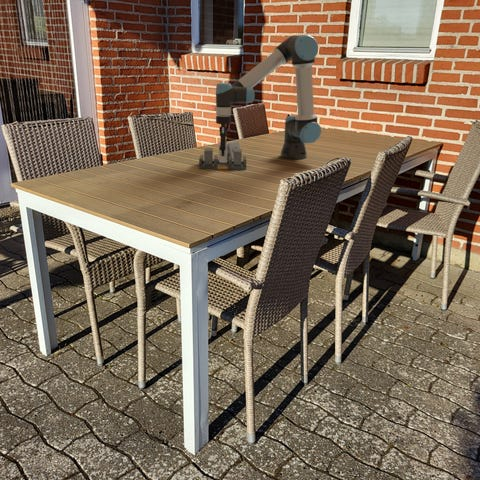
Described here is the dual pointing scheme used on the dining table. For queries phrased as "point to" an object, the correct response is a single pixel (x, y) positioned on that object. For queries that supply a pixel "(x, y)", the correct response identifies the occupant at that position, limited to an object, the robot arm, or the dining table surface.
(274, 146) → the dining table surface
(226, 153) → the grey block
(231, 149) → the electrical switch
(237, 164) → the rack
